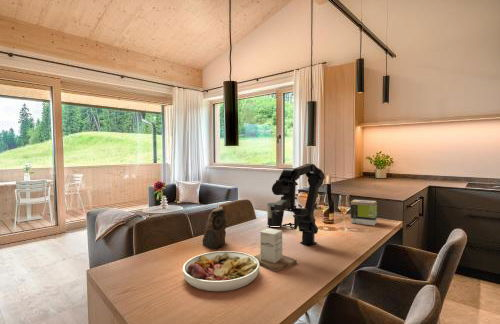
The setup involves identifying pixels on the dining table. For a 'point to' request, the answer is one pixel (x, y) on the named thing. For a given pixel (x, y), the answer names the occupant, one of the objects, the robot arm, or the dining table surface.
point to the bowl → (221, 270)
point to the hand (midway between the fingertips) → (287, 227)
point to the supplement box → (271, 245)
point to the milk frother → (273, 217)
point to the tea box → (364, 212)
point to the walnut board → (276, 263)
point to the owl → (215, 229)
